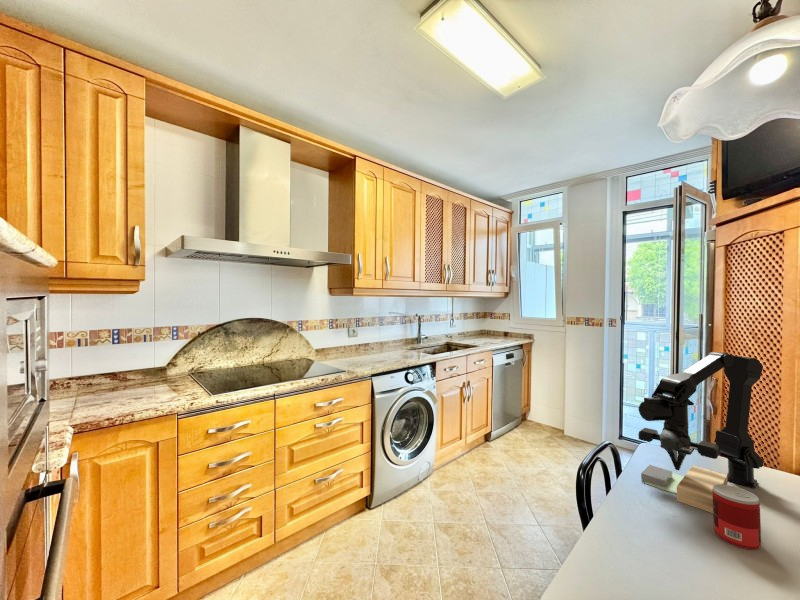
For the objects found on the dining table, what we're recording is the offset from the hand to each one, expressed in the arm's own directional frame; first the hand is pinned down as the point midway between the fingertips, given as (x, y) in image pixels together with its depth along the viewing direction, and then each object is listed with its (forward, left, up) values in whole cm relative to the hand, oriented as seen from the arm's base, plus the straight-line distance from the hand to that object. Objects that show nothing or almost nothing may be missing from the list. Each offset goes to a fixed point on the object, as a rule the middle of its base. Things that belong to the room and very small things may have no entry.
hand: (677, 469), depth 102 cm
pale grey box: (0, -5, -3) cm, 6 cm away
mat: (-1, -3, -5) cm, 6 cm away
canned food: (+19, +15, -5) cm, 25 cm away
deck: (0, +6, -5) cm, 8 cm away
